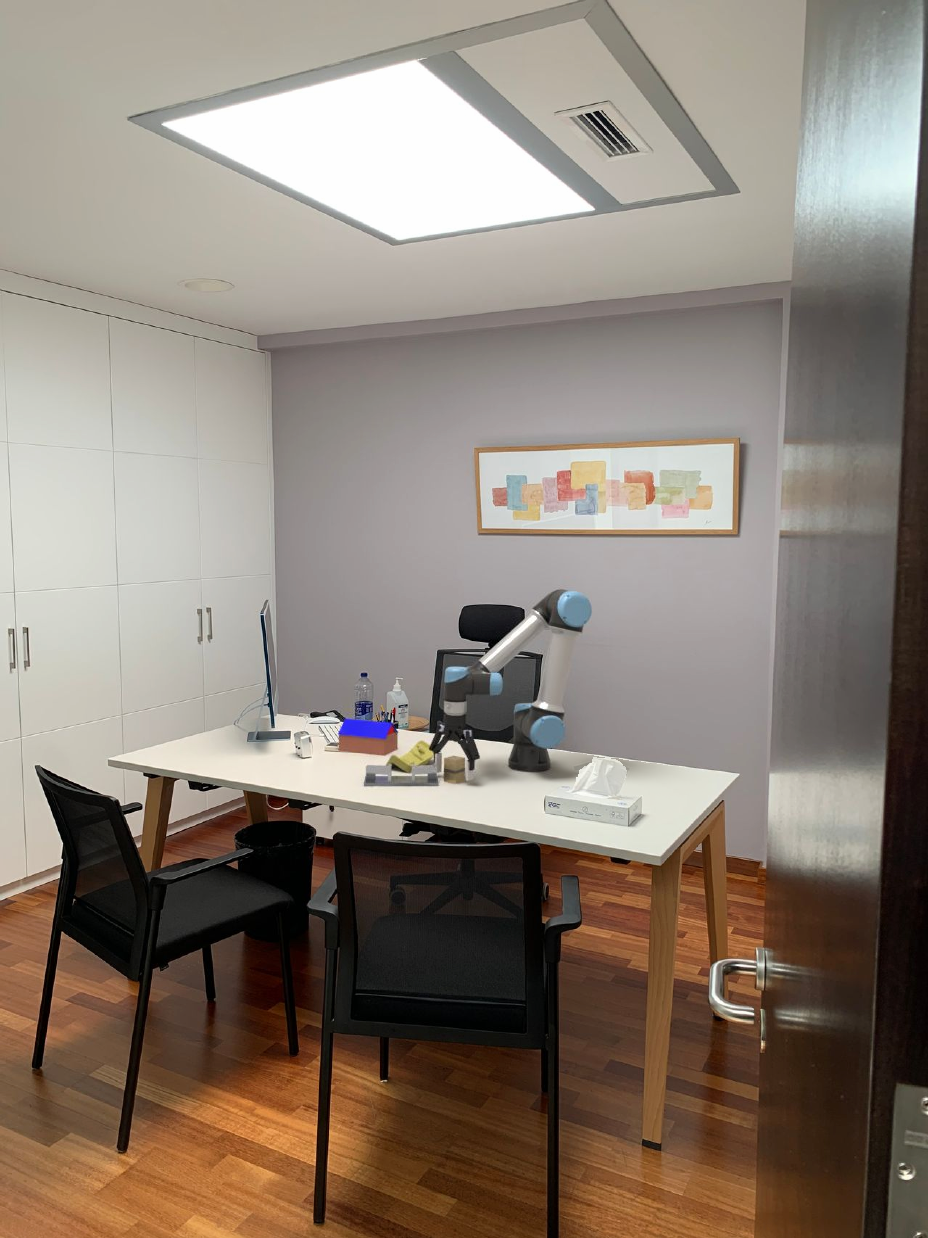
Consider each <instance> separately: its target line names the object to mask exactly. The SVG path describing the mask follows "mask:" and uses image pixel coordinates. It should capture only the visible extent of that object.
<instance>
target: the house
mask: <svg viewBox="0 0 928 1238" xmlns="http://www.w3.org/2000/svg"><path fill="white" fill-rule="evenodd" d="M337 735H338V751H339V752H348V753H353V754H355V753H356V754H364V755H372V756H373V755H375V756H383V757H385V756H387V755H389V754H392V753H393V752H395V751H397V750H398V748H399V747H398V746H399V745H398V739H399V738H398V735H399V731H398V730H397V728H396V726H395V725H394V723H393V722H388V721H387V722H386V721H378V720H377V721H375V720H364V719H355V718H344V719H343V722H342V724H341V727H340V728H339V730H338V733H337Z"/></svg>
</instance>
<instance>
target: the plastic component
mask: <svg viewBox="0 0 928 1238" xmlns="http://www.w3.org/2000/svg"><path fill="white" fill-rule="evenodd" d="M430 745H431V744H429V743H427V742H426V741H425V740H419V741H418V742H417V743H416V744H415V745H414V746H413V747H412V748H411V749H410V750H409V751H408V752H407V753H405V754H403V755H401V756H398V755H396V754H393V755H391V756H390V758H389V759H388V761H387V762H386V764H384V766H388V765H389V764H392V768H394V767H395V766H397V767H398V768H400V769H401V770H402V771H404V772H406V773H409V774H410V773H411V774H412V764H415V766H420V765H428V762H430V760H432V759H433V758H434V753H433V752H432V751H430V750H429V747H430Z"/></svg>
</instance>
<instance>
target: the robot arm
mask: <svg viewBox="0 0 928 1238" xmlns="http://www.w3.org/2000/svg"><path fill="white" fill-rule="evenodd" d="M592 609H593V608H592V604H591V602H590V600H589V598H588V597H587V596H586V595H585V594H583V593H581V592H579V591H576V590H570V589H569V590H567V589H563V588H562V589H560V588H559V589H556V590H552V591H551V592H549V593H548V594H547V595H546V596H544V597H543V598H542V599H541V600H540V601H539V602H537V604H536V605H534V606H533V607H532V608H531V609H530V613H529V615H527V616H526V617H525V618H524V619H523V620H522V621H521V622H520V623H518V625H516V626H515V627H514V628H513V629H511V631H510V632H508V633H507V634H506V635H505V636H504V637H503V638H502V639H501V640H499V642H497V643H496V644H495V645H494V646H493V647H492V648H491V649H490V650H488V651H487V652H486V653H485V654H484V655H483V656H482V657H481V658H480V659H478V660H477V661H476V662H475V663H474V664H472V665H471V666H467V667H464V666H448V667H446V669H445V672H444V680H443V681H444V691H443V692H444V693H443V694H444V695H443V696H444V699H443V713H444V714H443V724H438V725H436V731H435V734H434V735H433V738H432V740H431V742H430V744H429V745H430V747H429V750H430V751H432V752H433V753H434V756H433V763H434V765H436V766H437V774H439V773H442V770H443V769H442V768H443V767H442V764H443V753H442V750H443V748H444V747H445V745H447V743H449V742H451V741H452V742H454V743H457V744H458V745H460V747H461V749H462V752H463V753H464V755H465V756H466V758H467V760H465V781H468V782H469V781H471V780H473V778H474V776H473V775H474V770H475V765H476V764H475V763H476V760H480V759H481V756H480V753H479V750H478V747H477V745H476V741H475V738H474V731H473V730H472V729H470V730H469V729H466V725H467V714H466V713H467V704H468V703H467V702H468V699H467V698H468V696H498V695H501V693H502V690H503V685H504V684H503V683H504V681H503V677H502V675H501V673H499V671H500V670H502V669H503V668H504V667H505V666H506V665H507V664H508V663H509V662H510V661H512V659H515V657H516V656H517V655H519V654H520V652H522V651H523V650H524V649H525V648H527V646H528V645H529V644H530V643H532V642H533V641H534V640H535V639H536V638H537V637H539V635H541V634H542V633H543V632H544V631H549V630H550V631H551V635H550V639H549V643H548V649H547V653H546V657H545V663H544V666H543V672H542V677H541V681H540V684H539V685H540V686H539V691H538V695H537V699H536V700H535V701H533V702H521V703H516V704H515V705H514V709H513V745H512V748H511V751H510V754H509V758H508V766H507V767H509V768H510V769H511V770H516V771H520V772H521V771H522V772H543V771H547V770H550V768H551V765H552V764H551V763H552V762H551V758H550V755H549V751H548V749H553V748H555V747H557V746H559V744H561V742H562V741H563V740H564V738H565V736H566V726H565V723H564V718H565V713H566V711H565V709H564V707H563V706H562V705H563V701H564V696H565V691H566V686H567V681H568V678H569V673H570V669H571V664H572V661H573V660H572V659H573V654H574V650H575V644H576V641H577V638H578V637H580V635H582V633H583V629H584V626H585V625H586V624H587V623H588V622H589V620H590V619H591V616H592V613H593V611H592ZM443 734H444V735H443Z"/></svg>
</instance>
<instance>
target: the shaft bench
mask: <svg viewBox="0 0 928 1238" xmlns="http://www.w3.org/2000/svg"><path fill="white" fill-rule="evenodd" d="M392 769H393V767H392V764H389V765H388V766H385V765H382V764H381V765H379V764H378V765H375V764H367V765H366V766H365V776H364V781H363V782H364V783H363V787H439V776H438V773H437V766H436V765H435V764H430V765H429V764H426V765H420V766H415V764H412V772H411V775H392Z"/></svg>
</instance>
